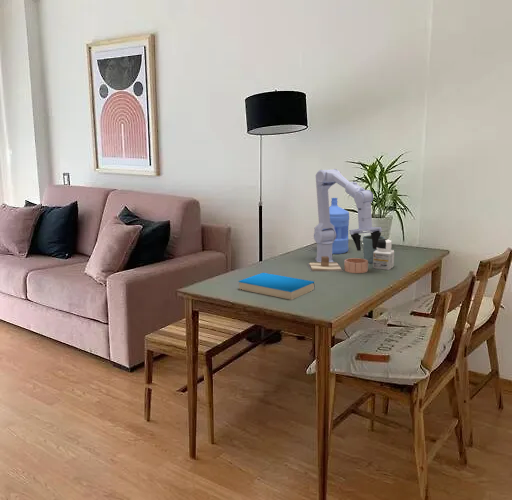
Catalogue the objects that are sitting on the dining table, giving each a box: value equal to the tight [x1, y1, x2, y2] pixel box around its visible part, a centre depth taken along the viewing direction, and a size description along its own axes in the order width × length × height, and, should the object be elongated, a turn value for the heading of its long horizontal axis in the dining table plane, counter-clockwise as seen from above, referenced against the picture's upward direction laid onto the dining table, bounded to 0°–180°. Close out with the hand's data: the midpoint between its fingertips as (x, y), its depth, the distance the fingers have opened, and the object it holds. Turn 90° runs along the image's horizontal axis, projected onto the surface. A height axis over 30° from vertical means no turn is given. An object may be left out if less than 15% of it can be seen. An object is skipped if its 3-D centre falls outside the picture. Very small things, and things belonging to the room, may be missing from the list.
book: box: [238, 272, 315, 301], centre depth 210 cm, size 17×4×25 cm
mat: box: [306, 262, 345, 273], centre depth 242 cm, size 15×15×1 cm
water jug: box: [323, 197, 350, 255], centre depth 277 cm, size 16×16×28 cm
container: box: [372, 238, 395, 271], centre depth 243 cm, size 8×8×13 cm
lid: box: [308, 256, 343, 272], centre depth 242 cm, size 13×13×5 cm
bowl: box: [343, 257, 369, 274], centre depth 236 cm, size 10×10×5 cm
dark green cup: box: [362, 234, 386, 264], centre depth 254 cm, size 10×10×12 cm
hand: (366, 249), depth 231 cm, fingers open, 7 cm apart
